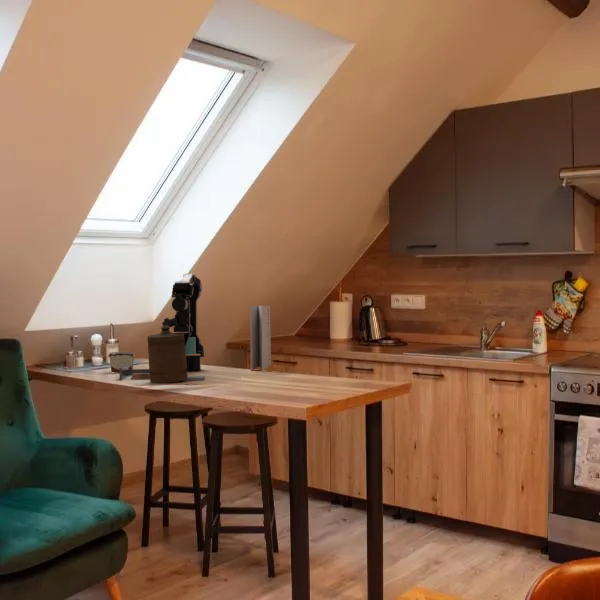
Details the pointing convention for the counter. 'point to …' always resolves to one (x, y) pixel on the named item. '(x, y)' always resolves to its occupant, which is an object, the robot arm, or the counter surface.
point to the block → (190, 346)
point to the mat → (195, 378)
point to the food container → (121, 360)
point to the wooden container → (167, 356)
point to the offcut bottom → (140, 378)
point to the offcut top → (140, 375)
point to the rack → (130, 371)
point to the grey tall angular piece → (260, 337)
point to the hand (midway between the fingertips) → (183, 349)
